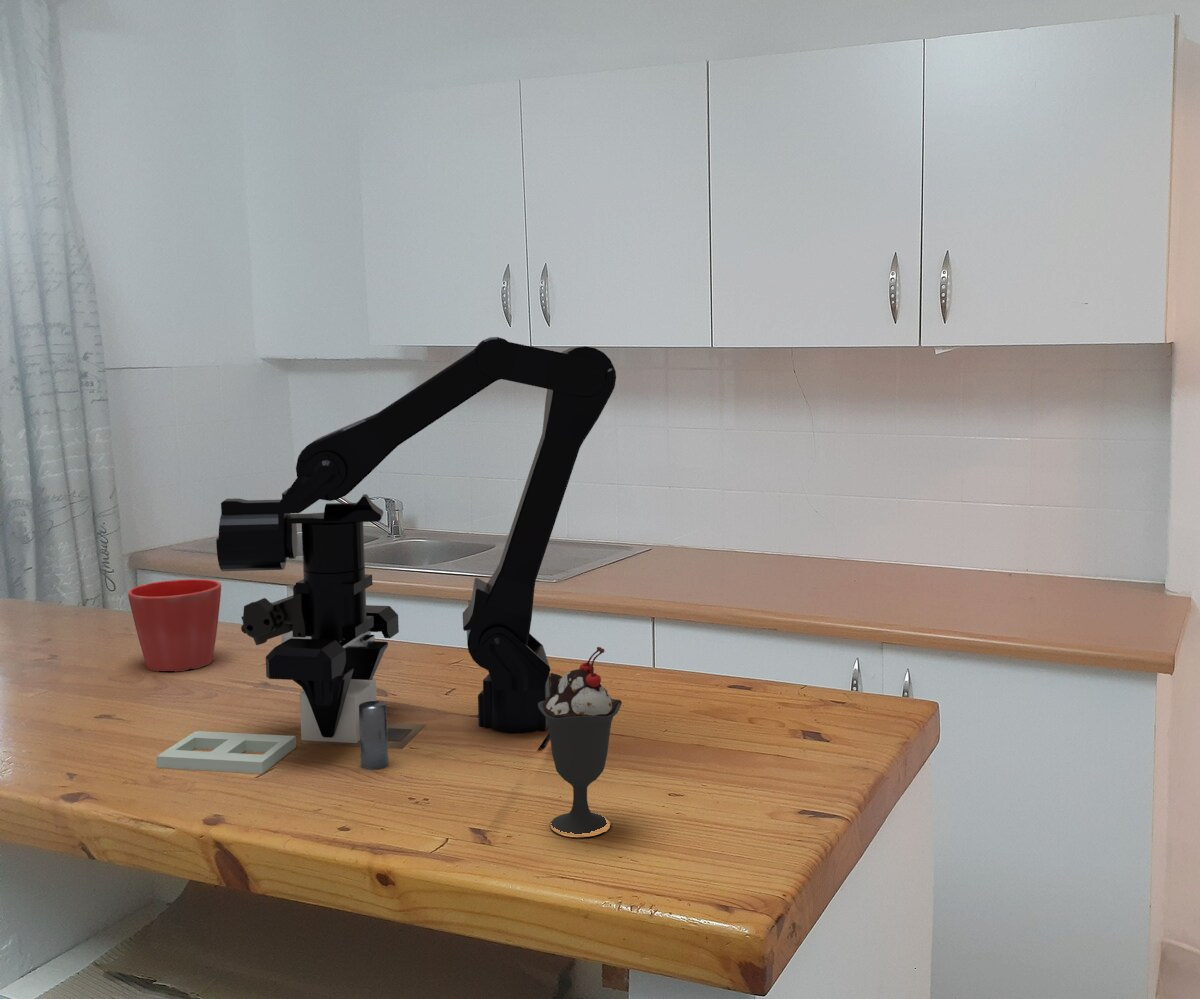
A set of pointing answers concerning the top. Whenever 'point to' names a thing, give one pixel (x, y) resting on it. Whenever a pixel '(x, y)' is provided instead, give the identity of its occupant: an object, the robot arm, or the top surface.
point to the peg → (373, 735)
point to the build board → (227, 752)
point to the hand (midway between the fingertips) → (340, 727)
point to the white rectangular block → (349, 716)
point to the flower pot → (176, 622)
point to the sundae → (579, 738)
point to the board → (395, 731)
